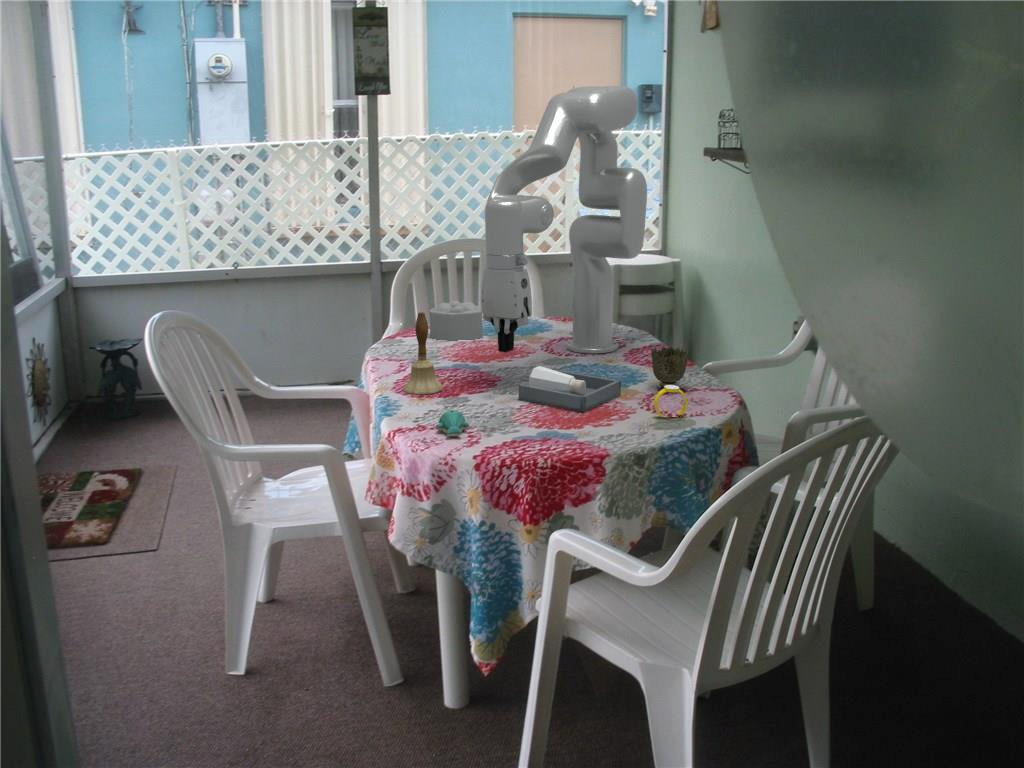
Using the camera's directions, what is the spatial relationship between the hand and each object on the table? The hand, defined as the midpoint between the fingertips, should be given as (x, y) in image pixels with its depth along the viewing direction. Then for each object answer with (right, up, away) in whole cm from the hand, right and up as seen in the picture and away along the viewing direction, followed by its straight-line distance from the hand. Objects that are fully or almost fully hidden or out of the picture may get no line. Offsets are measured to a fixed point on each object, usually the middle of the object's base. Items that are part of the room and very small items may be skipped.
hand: (506, 350), depth 193 cm
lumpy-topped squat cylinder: (-13, +5, +45) cm, 48 cm away
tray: (+13, -10, -7) cm, 18 cm away
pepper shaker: (+6, -6, -3) cm, 9 cm away
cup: (+33, -8, -1) cm, 34 cm away
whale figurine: (-9, -16, -27) cm, 33 cm away
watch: (+30, -13, -20) cm, 39 cm away
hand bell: (-17, -8, -1) cm, 19 cm away
